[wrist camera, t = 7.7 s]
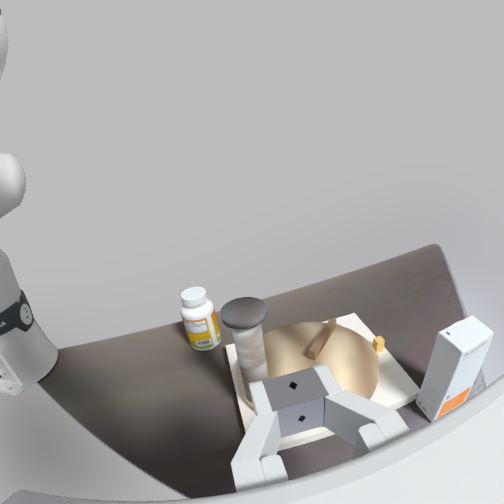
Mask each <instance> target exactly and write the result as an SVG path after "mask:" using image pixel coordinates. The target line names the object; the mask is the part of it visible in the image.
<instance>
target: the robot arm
mask: <svg viewBox="0 0 504 504" xmlns="http://www.w3.org/2000/svg"><path fill="white" fill-rule="evenodd" d="M7 49H8V36H7V30H6V26H5V23H4V20H3V18H2V17H1V10H0V78H1V76H2V73H3V70H4V67H5V63H6V58H7ZM25 188H26V178H25V173H24V170H23V168H22V165H21V164H20V162H19V161H18V160H17V159H16V158H15V157H14V156H13V155H11V154H8V153H0V218H1V217H3V216H4V215H6V214H7V213H9V212H10V211H12V210H13V209H15V208H16V207H18V206H19V205H20V204H21V202H22V199H23V197H24V193H25ZM57 358H58V350H57V348H56V347H55V346H54V345H53V344H52V343H51V342H50V340H49V339H48V338H47V337H46V336H45V334H44V333H43V331H42V330H41V328H40V327H39V325H38V324H37V322H36V320H35V319H34V317H33V314H32V311H31V308H30V305H29V303H28V301H27V299H26V296H25V294H24V292H23V291H22V290H21V289H20V288H19V285H18V283H17V280H16V277H15V275H14V273H13V270H12V267H11V264H10V262H9V259H8V257H7V255H6V254H5V253H4V252H3V251H2V250H0V393H2V394H6V395H10V396H17V395H19V394H20V393H21V392H23V391H24V390H25V389H26V388H27V387H29V386H30V385H32V384H34V383H36V382H38V381H39V380H41V379H42V378H43V377H44V376H46V375H47V374H48V373H49V372H50V370H51V369H52V368H53V366H54V365H55V363H56V361H57ZM249 389H250V394H251V398H252V403H253V407H254V411H255V415H256V416H254V417H253V419H252V421H251V423H250V425H249V427H248V429H247V431H246V433H245V436H244V438H243V440H242V442H241V444H240V446H239V448H238V450H237V452H236V454H235V456H234V458H233V460H232V462H231V466H232V471H233V477H234V481H235V486H236V491H237V493H231V494H225V495H218V496H211V497H203V498H194V499H184V500H170V501H148V502H147V501H146V502H125V501H123V502H122V501H101V500H88V499H77V498H69V497H61V496H55V495H48V494H43V493H38V492H33V491H27V490H19V491H17V492H15V493H14V494H13V495H11V496H10V497H9V498H8V499H7V500H5V501H4V502H3V503H2V504H504V374H503V375H502V376H501V377H499V378H498V379H497V380H495V381H494V382H493V383H491V384H490V385H489V386H487V387H486V388H484V389H483V390H482V391H480V392H479V393H477V394H476V395H474V396H473V397H472V398H470V399H469V400H467V401H466V402H464V403H463V404H461V405H459V406H458V407H456V408H455V409H453V410H452V411H450V412H448V413H447V414H445V415H443V416H442V417H440V418H438V419H437V420H435V421H433V422H431V423H429V424H428V425H426V426H424V427H422V428H420V429H419V430H417V431H415V432H413V433H412V432H411V431H410V429H409V428H408V427H407V425H406V424H405V422H404V421H403V420H402V418H401V417H400V415H399V414H398V413H397V411H395V410H393V409H390V408H388V407H385V406H383V405H381V404H378V403H376V402H373V401H371V400H369V399H366V398H364V397H362V396H359V395H357V394H355V393H353V392H350V391H348V390H344V391H343V390H342V389H341V387H340V385H339V384H338V382H337V381H336V379H335V377H334V376H333V374H332V372H331V371H330V369H329V367H328V366H327V364H325V363H323V364H320V365H317V366H314V367H310V368H307V369H304V370H300V371H297V372H293V373H290V374H287V375H283V376H279V377H274V378H270V379H265V380H262V381H257V382H252V383H249ZM321 426H324V427H325V428H327V429H328V430H330V431H332V432H333V433H335V434H336V435H338V436H339V437H341V438H343V439H344V440H346V441H347V442H349V443H351V444H352V445H354V446H355V449H354V453H353V457H352V460H351V461H348V462H346V463H343V464H340V465H337V466H335V467H332V468H329V469H326V470H323V471H320V472H317V473H314V474H311V475H307V476H304V477H301V478H297V479H294V480H290V481H289V478H288V476H287V473H286V470H285V467H284V464H283V462H282V459H281V456H279V455H276V454H277V451H278V448H279V445H280V442H281V438H284V437H287V436H290V435H294V434H297V433H300V432H303V431H307V430H311V429H314V428H317V427H321Z"/></svg>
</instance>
